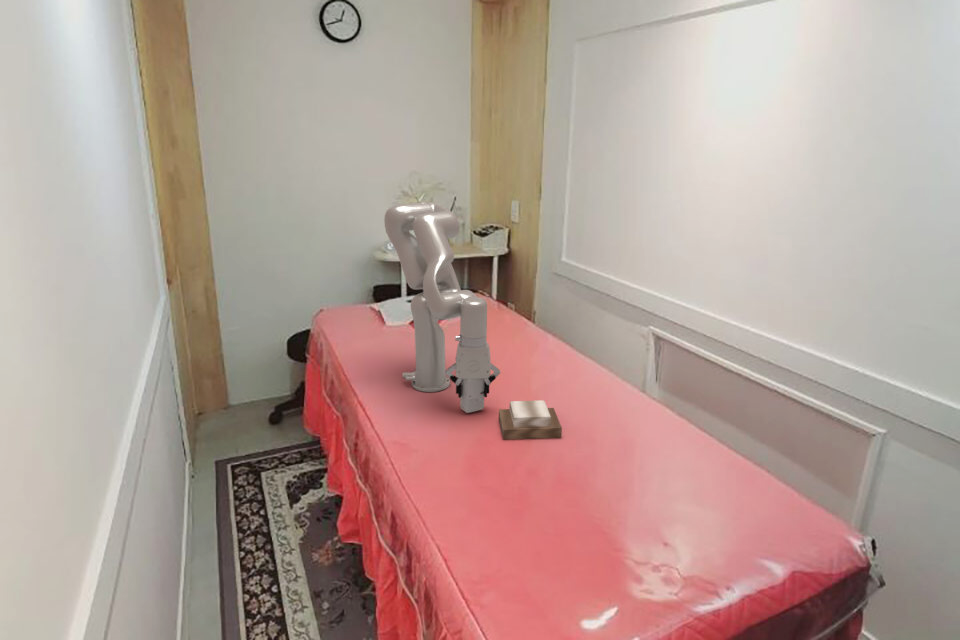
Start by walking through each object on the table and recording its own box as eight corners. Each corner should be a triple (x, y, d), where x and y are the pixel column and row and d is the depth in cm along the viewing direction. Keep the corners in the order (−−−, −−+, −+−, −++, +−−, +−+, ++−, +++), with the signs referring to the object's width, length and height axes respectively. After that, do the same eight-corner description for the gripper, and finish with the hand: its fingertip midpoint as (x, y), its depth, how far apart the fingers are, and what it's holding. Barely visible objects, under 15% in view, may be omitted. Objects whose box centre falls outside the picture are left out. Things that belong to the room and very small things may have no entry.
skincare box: (467, 413, 171) (468, 376, 167) (459, 407, 175) (460, 370, 171) (484, 408, 174) (485, 371, 170) (476, 402, 178) (477, 366, 174)
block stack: (503, 439, 158) (503, 419, 157) (498, 418, 170) (499, 400, 168) (561, 437, 160) (562, 418, 158) (553, 417, 171) (554, 398, 169)
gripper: (443, 345, 163) (443, 401, 169) (504, 344, 164) (502, 401, 170) (442, 335, 170) (443, 390, 176) (502, 335, 171) (500, 389, 177)
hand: (472, 395), depth 173 cm, fingers closed on skincare box, 7 cm apart
